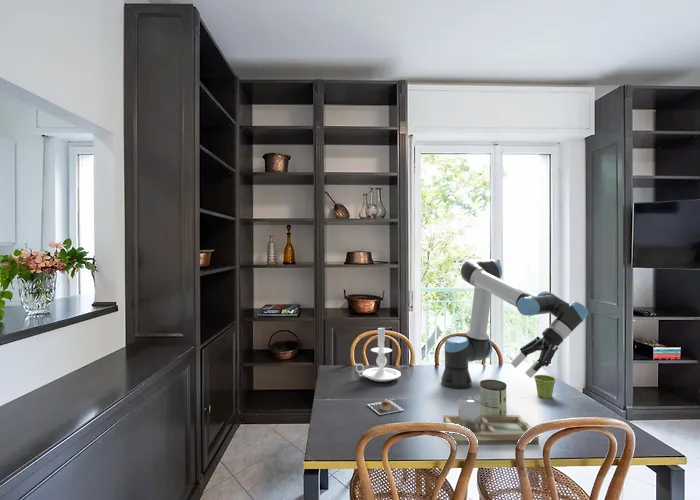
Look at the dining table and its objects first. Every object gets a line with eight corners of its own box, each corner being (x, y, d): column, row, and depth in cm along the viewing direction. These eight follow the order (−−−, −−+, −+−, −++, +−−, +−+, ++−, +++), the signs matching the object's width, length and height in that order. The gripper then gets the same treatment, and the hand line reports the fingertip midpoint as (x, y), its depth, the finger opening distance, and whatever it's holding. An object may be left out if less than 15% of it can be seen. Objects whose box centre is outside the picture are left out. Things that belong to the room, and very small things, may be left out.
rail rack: (443, 424, 154) (443, 415, 154) (518, 423, 155) (518, 415, 155) (454, 444, 138) (454, 434, 138) (538, 444, 139) (538, 434, 139)
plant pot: (558, 400, 178) (558, 381, 178) (536, 399, 180) (536, 380, 180) (552, 393, 187) (552, 375, 187) (531, 392, 189) (531, 374, 189)
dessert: (379, 417, 162) (379, 405, 162) (366, 406, 173) (366, 396, 173) (404, 412, 167) (404, 401, 167) (390, 402, 178) (390, 392, 178)
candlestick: (352, 373, 218) (352, 323, 218) (396, 372, 220) (396, 322, 220) (356, 386, 197) (356, 331, 197) (404, 385, 199) (404, 330, 199)
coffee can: (480, 411, 167) (480, 378, 167) (505, 414, 164) (505, 380, 164) (479, 421, 157) (479, 386, 157) (507, 424, 154) (507, 389, 154)
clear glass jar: (456, 424, 150) (456, 396, 150) (476, 424, 151) (476, 396, 151) (462, 434, 142) (462, 404, 142) (483, 434, 143) (483, 404, 143)
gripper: (580, 347, 148) (541, 387, 148) (547, 333, 173) (513, 367, 173) (566, 333, 148) (527, 373, 148) (534, 321, 173) (501, 355, 173)
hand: (519, 370), depth 160 cm, fingers open, 13 cm apart
